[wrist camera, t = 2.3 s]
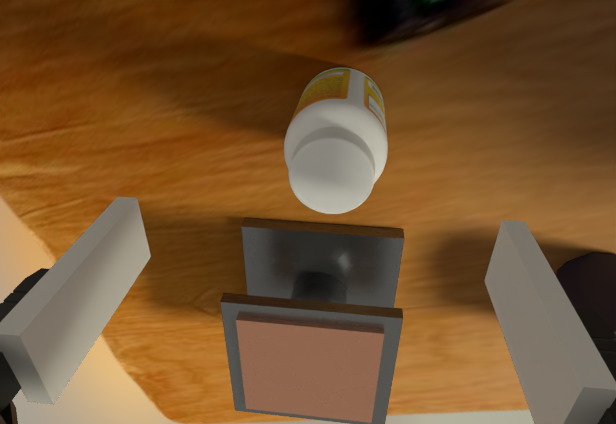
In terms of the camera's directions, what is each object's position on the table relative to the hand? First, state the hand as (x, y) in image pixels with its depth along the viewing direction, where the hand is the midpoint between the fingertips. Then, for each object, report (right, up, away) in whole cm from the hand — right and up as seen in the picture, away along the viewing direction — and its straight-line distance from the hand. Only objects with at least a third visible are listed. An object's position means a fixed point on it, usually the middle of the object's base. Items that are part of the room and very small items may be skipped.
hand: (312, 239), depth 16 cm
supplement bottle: (+2, +8, +12) cm, 15 cm away
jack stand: (+1, -5, +20) cm, 21 cm away
